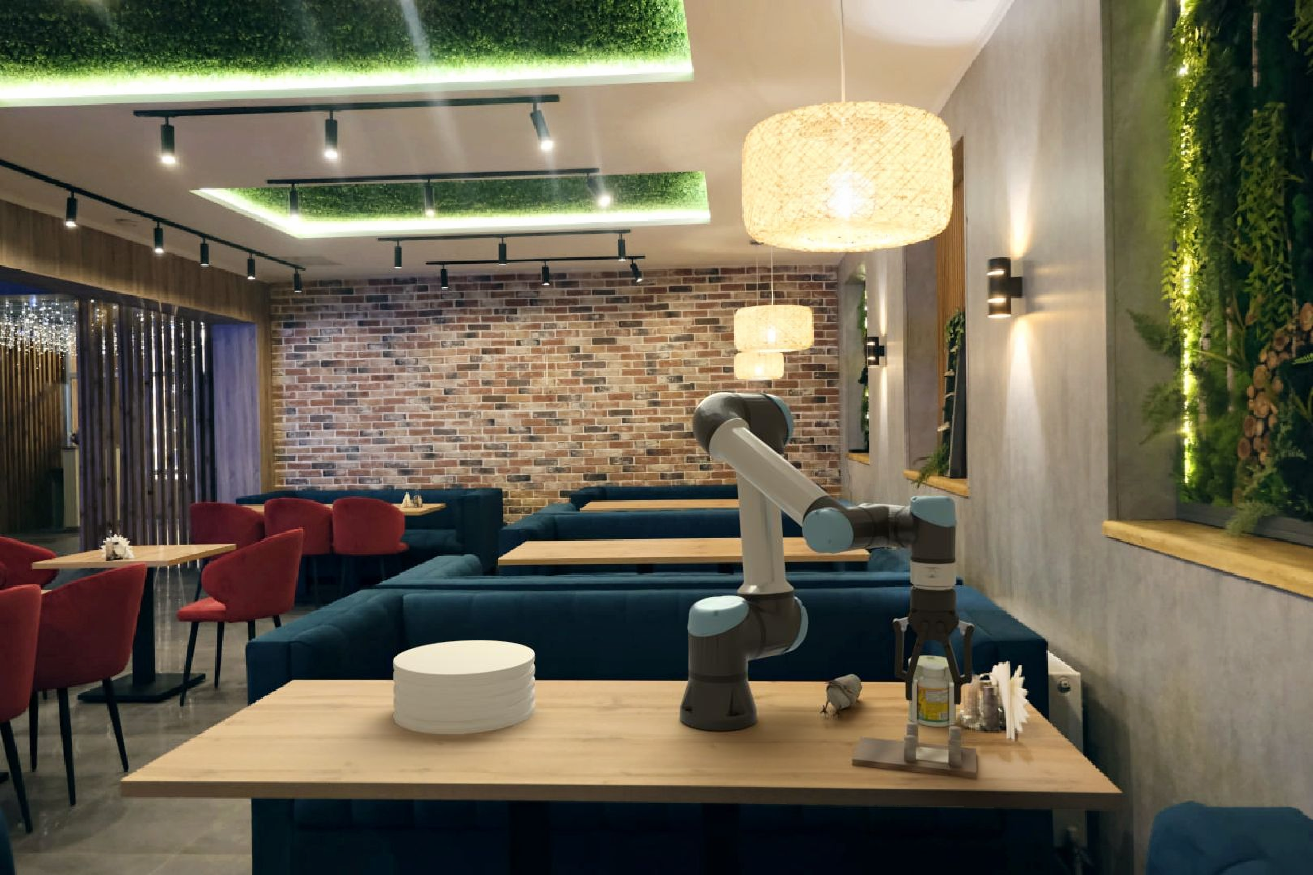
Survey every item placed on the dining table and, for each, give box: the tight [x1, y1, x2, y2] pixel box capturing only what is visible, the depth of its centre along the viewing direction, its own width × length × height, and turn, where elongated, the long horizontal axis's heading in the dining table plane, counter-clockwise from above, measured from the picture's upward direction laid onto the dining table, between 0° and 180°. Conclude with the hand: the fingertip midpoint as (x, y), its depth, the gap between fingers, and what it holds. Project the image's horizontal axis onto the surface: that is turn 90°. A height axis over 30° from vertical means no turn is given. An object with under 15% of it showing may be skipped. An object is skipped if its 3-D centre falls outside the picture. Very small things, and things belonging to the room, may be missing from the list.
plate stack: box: [392, 639, 536, 735], centre depth 190 cm, size 28×28×12 cm
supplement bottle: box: [917, 664, 949, 728], centre depth 161 cm, size 5×5×10 cm
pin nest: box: [851, 721, 977, 780], centre depth 162 cm, size 20×12×5 cm, turn 71°
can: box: [907, 655, 958, 728], centre depth 184 cm, size 9×9×12 cm
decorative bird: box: [819, 673, 863, 720], centre depth 191 cm, size 5×16×8 cm, turn 149°
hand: (933, 720), depth 161 cm, fingers closed on supplement bottle, 5 cm apart
